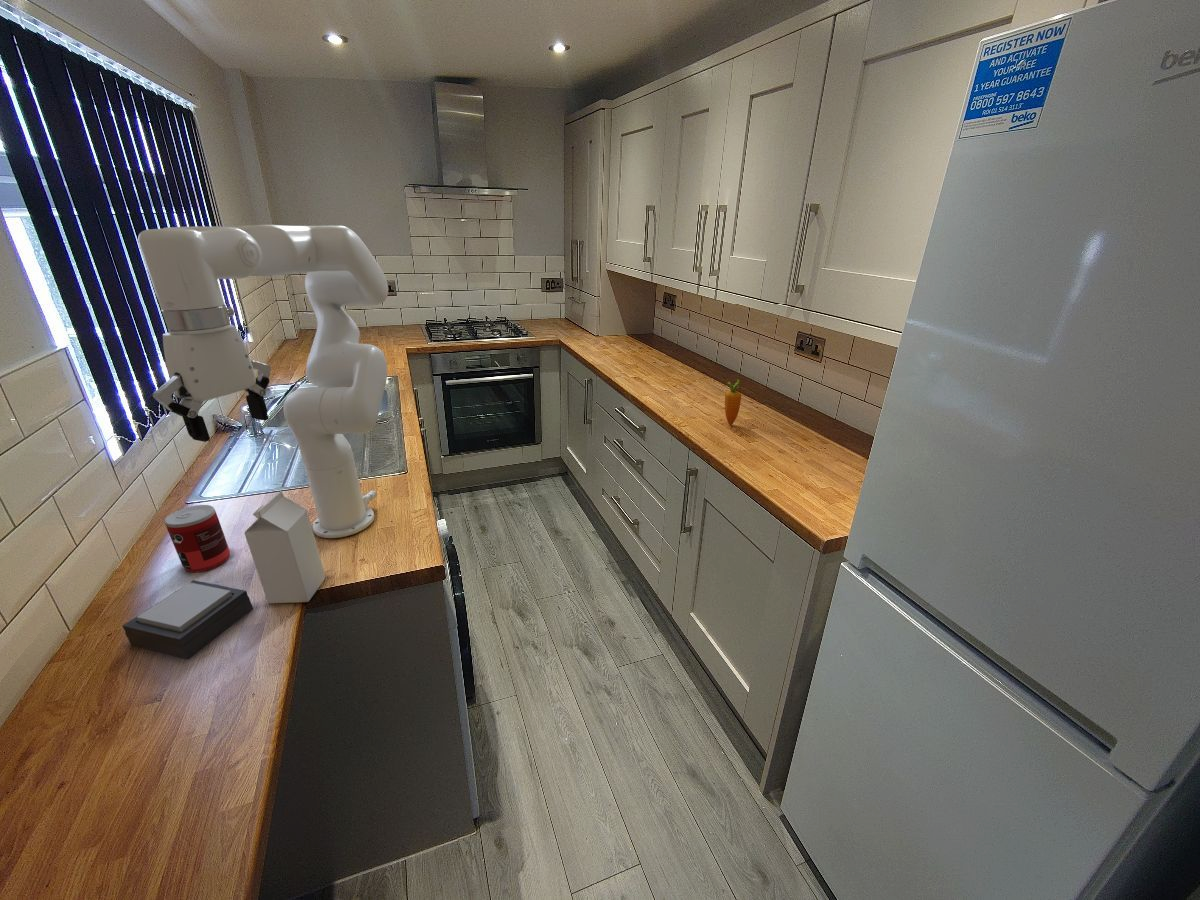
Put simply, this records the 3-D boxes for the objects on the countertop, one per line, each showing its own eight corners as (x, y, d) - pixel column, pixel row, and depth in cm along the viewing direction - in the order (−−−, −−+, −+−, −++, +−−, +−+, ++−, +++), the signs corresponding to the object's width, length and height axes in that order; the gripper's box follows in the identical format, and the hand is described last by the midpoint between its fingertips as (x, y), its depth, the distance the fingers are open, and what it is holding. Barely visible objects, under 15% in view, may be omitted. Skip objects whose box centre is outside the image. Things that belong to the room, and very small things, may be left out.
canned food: (189, 556, 107) (170, 509, 103) (234, 546, 110) (218, 501, 105) (178, 577, 101) (158, 528, 96) (227, 567, 103) (209, 519, 99)
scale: (200, 597, 95) (193, 579, 93) (253, 608, 92) (246, 590, 90) (130, 645, 84) (121, 625, 83) (187, 659, 82) (179, 639, 80)
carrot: (723, 427, 168) (726, 382, 162) (722, 422, 172) (726, 377, 166) (739, 428, 167) (743, 382, 161) (737, 422, 172) (742, 378, 166)
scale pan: (193, 589, 92) (190, 582, 91) (233, 597, 90) (230, 590, 89) (139, 624, 84) (136, 617, 83) (182, 634, 82) (179, 627, 81)
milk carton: (326, 578, 100) (301, 489, 92) (308, 603, 93) (280, 510, 86) (288, 579, 100) (260, 491, 92) (268, 604, 93) (236, 511, 85)
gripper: (237, 310, 85) (265, 409, 92) (113, 329, 71) (158, 446, 77) (269, 312, 83) (296, 414, 89) (148, 332, 68) (192, 453, 75)
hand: (232, 429), depth 83 cm, fingers open, 9 cm apart
